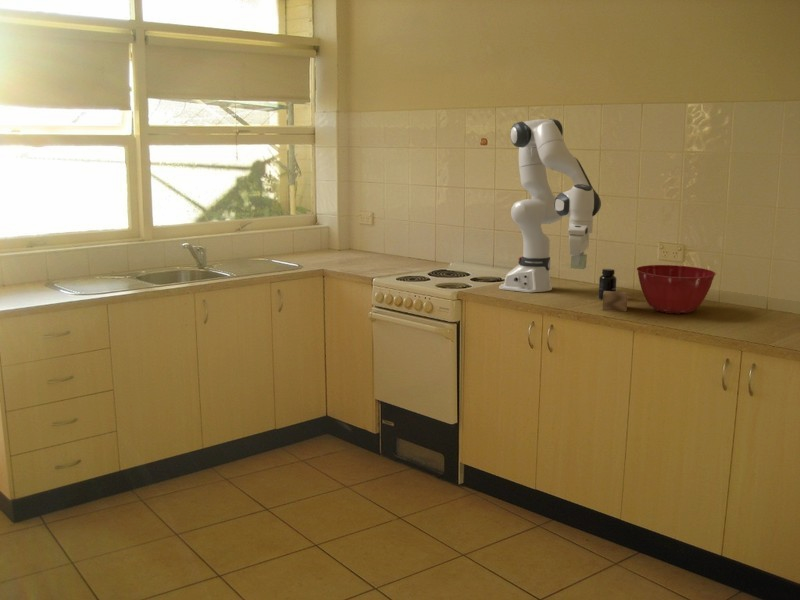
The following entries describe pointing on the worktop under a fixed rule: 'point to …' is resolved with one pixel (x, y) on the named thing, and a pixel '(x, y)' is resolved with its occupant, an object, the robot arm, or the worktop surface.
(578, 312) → the worktop surface
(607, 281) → the supplement bottle
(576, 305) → the worktop surface
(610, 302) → the pinkish brown block
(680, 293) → the mixing bowl
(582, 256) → the sage block
